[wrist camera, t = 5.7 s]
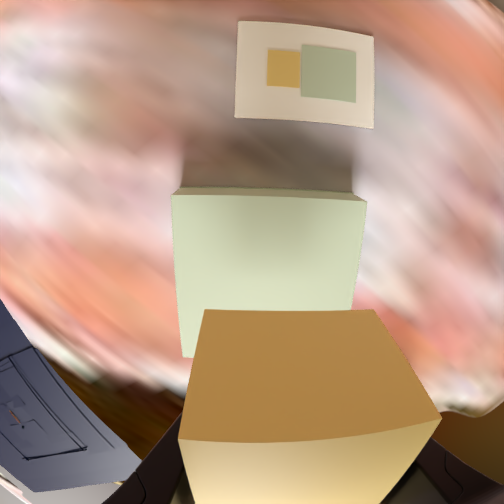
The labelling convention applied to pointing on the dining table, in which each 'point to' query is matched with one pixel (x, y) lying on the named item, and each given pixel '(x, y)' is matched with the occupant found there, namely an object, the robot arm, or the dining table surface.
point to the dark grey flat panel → (51, 423)
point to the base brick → (263, 251)
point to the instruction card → (304, 74)
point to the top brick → (300, 409)
